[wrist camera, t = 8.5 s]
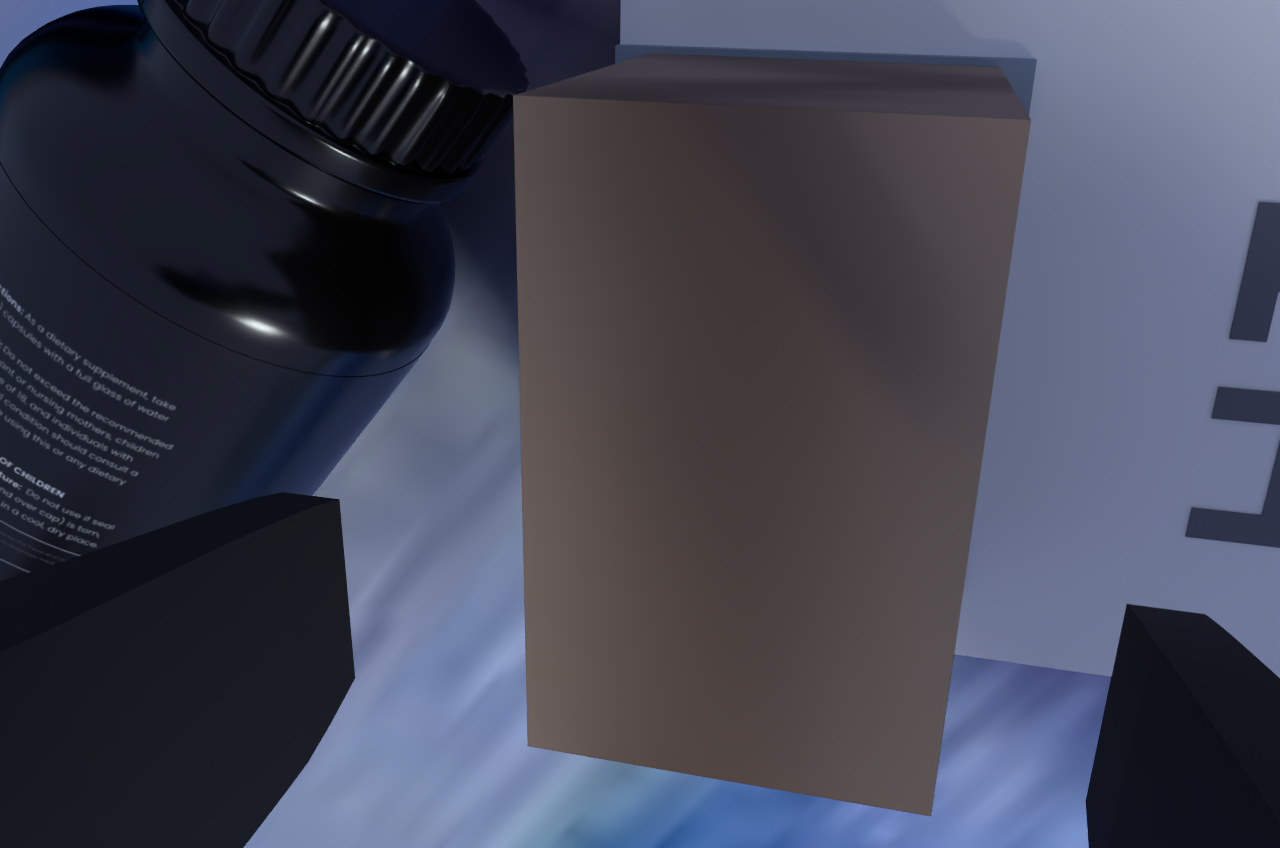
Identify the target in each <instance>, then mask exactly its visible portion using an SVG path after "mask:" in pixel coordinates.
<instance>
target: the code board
mask: <svg viewBox="0 0 1280 848" xmlns="http://www.w3.org/2000/svg"><path fill="white" fill-rule="evenodd" d="M620 44H633V45H661V46H690V47H719V48H747V49H776V50H804V51H833V52H861V53H890V54H918V55H947V56H975V57H1004V58H1032V59H1036V60H1037V63H1036V70H1035V77H1034V84H1033V91H1032V98H1031V105H1030V112H1029V117H1030V119H1031V124H1030V131H1029V138H1028V145H1027V152H1026V159H1025V166H1024V173H1023V180H1022V187H1021V194H1020V201H1019V208H1018V215H1017V222H1016V229H1015V236H1014V243H1013V250H1012V256H1011V263H1010V270H1009V277H1008V284H1007V291H1006V298H1005V305H1004V312H1003V319H1002V326H1001V333H1000V340H999V347H998V354H997V361H996V368H995V375H994V382H993V388H992V395H991V402H990V409H989V416H988V423H987V430H986V437H985V444H984V451H983V458H982V465H981V472H980V479H979V486H978V493H977V500H976V507H975V514H974V520H973V527H972V534H971V541H970V548H969V555H968V562H967V569H966V576H965V583H964V590H963V597H962V604H961V611H960V618H959V625H958V632H957V639H956V646H955V653H954V654H955V655H962V656H969V657H976V658H983V659H990V660H997V661H1003V662H1010V663H1017V664H1024V665H1031V666H1038V667H1045V668H1052V669H1059V670H1066V671H1073V672H1080V673H1087V674H1094V675H1101V676H1108V677H1112V672H1113V667H1114V662H1115V658H1116V653H1117V648H1118V643H1119V638H1120V633H1121V629H1122V624H1123V619H1124V614H1125V609H1126V605H1127V604H1132V605H1140V606H1147V607H1155V608H1163V609H1170V610H1178V611H1185V612H1193V613H1200V614H1206V615H1207V616H1209V617H1210V618H1211V619H1212V620H1214V621H1215V622H1216V623H1218V624H1219V625H1220V626H1221V627H1223V628H1224V629H1225V630H1226V631H1227V632H1229V633H1230V634H1231V635H1232V636H1233V637H1234V638H1235V639H1237V640H1238V641H1239V642H1240V643H1241V644H1242V645H1243V646H1245V647H1246V648H1247V649H1248V650H1249V651H1250V652H1251V653H1252V654H1254V655H1255V656H1256V657H1257V658H1258V659H1259V660H1260V661H1261V662H1262V663H1264V664H1265V665H1266V666H1267V667H1268V668H1269V669H1270V670H1271V671H1272V672H1274V673H1275V674H1276V675H1277V676H1278V677H1279V678H1280V0H621V18H620Z"/></svg>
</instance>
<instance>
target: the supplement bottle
mask: <svg viewBox="0 0 1280 848" xmlns="http://www.w3.org/2000/svg"><path fill="white" fill-rule="evenodd" d="M137 1H138V4H139V5H112V6H100V7H94V8H89V9H85V10H80V11H76V12H73V13H70V14H68V15H65V16H63V17H60V18H58V19H56V20H53V21H51V22H49V23H47V24H45V25H44V26H42V27H41V28H39V29H37V30H36V31H34V32H33V33H32V34H30V35H29V36H27V37H26V38H24V39H23V40H22V41H21V42H20V43H19V44H18V45H17V46H16V47H15V48H14V49H13V50H12V51H11V52H10V54H9V55H8V56H7V58H6V60H5V61H4V63H3V65H2V66H1V68H0V581H3V580H6V579H9V578H13V577H16V576H19V575H22V574H25V573H28V572H31V571H35V570H38V569H41V568H44V567H47V566H50V565H54V564H57V563H60V562H63V561H66V560H69V559H72V558H75V557H78V556H81V555H84V554H87V553H90V552H93V551H96V550H99V549H102V548H104V547H107V546H110V545H113V544H116V543H119V542H122V541H125V540H128V539H130V538H133V537H136V536H139V535H142V534H145V533H148V532H151V531H153V530H156V529H159V528H162V527H165V526H168V525H171V524H174V523H177V522H180V521H183V520H185V519H188V518H191V517H194V516H197V515H200V514H203V513H206V512H209V511H213V510H216V509H219V508H222V507H225V506H228V505H232V504H235V503H239V502H242V501H246V500H249V499H253V498H257V497H261V496H266V495H271V494H276V493H281V492H286V493H294V494H302V495H309V496H313V495H314V493H315V492H316V491H317V489H318V488H319V487H320V486H321V484H322V483H323V482H324V480H325V479H326V478H327V477H328V475H329V474H330V473H331V471H332V470H333V469H334V468H335V466H336V465H337V464H338V462H339V461H340V460H341V458H342V457H343V456H344V455H345V453H346V452H347V451H348V449H349V448H350V447H351V446H352V444H353V443H354V442H355V440H356V439H357V438H358V437H359V435H360V434H361V433H362V431H363V430H364V429H365V428H366V426H367V425H368V424H369V422H370V421H371V420H372V419H373V417H374V416H375V415H376V413H377V412H378V411H379V409H380V408H381V407H382V406H383V404H384V403H385V402H386V400H387V399H388V398H389V397H390V395H391V394H392V393H393V391H394V390H395V389H396V388H397V386H398V385H399V384H400V382H401V381H402V380H403V378H404V377H405V376H406V375H407V373H408V372H409V371H410V369H411V368H412V367H413V366H414V364H415V363H416V362H417V360H418V359H419V358H420V356H421V355H422V354H423V352H424V351H425V350H426V348H427V347H428V345H429V344H430V342H431V341H432V339H433V338H434V337H435V335H436V334H437V332H438V331H439V329H440V328H441V326H442V325H443V322H444V320H445V318H446V316H447V313H448V311H449V308H450V304H451V299H452V295H453V290H454V281H455V255H454V247H453V241H452V237H451V233H450V229H449V226H448V223H447V220H446V217H445V215H444V212H443V210H442V207H441V205H440V203H444V202H448V201H451V200H453V199H455V198H456V197H458V196H459V195H460V194H461V193H462V192H463V191H464V189H465V188H466V187H467V185H468V184H469V182H470V181H471V180H472V178H473V177H474V176H475V174H476V173H477V171H478V170H479V168H480V166H481V163H482V157H483V155H484V154H485V153H486V152H487V150H488V149H489V148H490V146H491V145H492V143H493V142H494V141H495V139H496V138H497V137H498V135H499V134H500V133H501V131H502V130H503V128H504V127H505V126H506V124H507V123H508V122H509V120H510V119H511V117H512V116H513V115H514V112H513V95H516V94H519V93H523V92H526V89H527V87H528V85H529V82H528V79H527V77H526V75H525V74H526V71H527V70H526V68H525V66H524V65H523V63H522V62H521V60H520V54H519V53H518V52H517V50H516V49H515V48H514V47H513V45H512V44H511V42H510V40H509V38H508V36H507V35H506V34H505V33H504V32H503V31H502V30H501V29H500V28H499V27H498V26H497V24H496V23H495V21H494V20H493V18H492V17H491V16H490V15H489V14H488V13H487V12H486V11H485V10H484V9H483V8H482V7H481V6H480V5H479V4H478V3H477V2H476V0H137Z"/></svg>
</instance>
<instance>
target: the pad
mask: <svg viewBox="0 0 1280 848" xmlns="http://www.w3.org/2000/svg"><path fill="white" fill-rule="evenodd" d="M649 53H651V54H677V55H703V56H730V57H756V58H782V59H808V60H834V61H860V62H886V63H912V64H939V65H965V66H991V67H1000V68H1001V69H1002V71H1003V73H1004V74H1005V76H1006V78H1007V80H1008V81H1009V83H1010V85H1011V86H1012V88H1013V90H1014V92H1015V93H1016V95H1017V97H1018V98H1019V100H1020V102H1021V104H1022V105H1023V107H1024V109H1025V110H1026V112H1027V114H1028V116H1029V112H1030V105H1031V98H1032V91H1033V84H1034V77H1035V70H1036V63H1037V60H1036V59H1032V58H1004V57H975V56H947V55H918V54H890V53H861V52H833V51H804V50H776V49H747V48H719V47H690V46H661V45H633V44H618V45H615V64H617V63H620V62H623V61H627V60H630V59H633V58H636V57H639V56H643V55H646V54H649Z"/></svg>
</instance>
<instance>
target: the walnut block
mask: <svg viewBox="0 0 1280 848" xmlns="http://www.w3.org/2000/svg"><path fill="white" fill-rule="evenodd" d="M513 112H514V157H515V201H516V246H517V290H518V335H519V379H520V424H521V468H522V513H523V557H524V602H525V646H526V691H527V735H528V746H530V747H536V748H542V749H547V750H553V751H559V752H565V753H570V754H576V755H582V756H588V757H593V758H599V759H605V760H611V761H616V762H622V763H628V764H633V765H639V766H645V767H651V768H656V769H662V770H668V771H674V772H679V773H685V774H691V775H697V776H702V777H708V778H714V779H719V780H725V781H731V782H737V783H742V784H748V785H754V786H760V787H765V788H771V789H777V790H783V791H788V792H794V793H800V794H805V795H811V796H817V797H823V798H828V799H834V800H840V801H846V802H851V803H857V804H863V805H869V806H874V807H880V808H886V809H892V810H897V811H903V812H909V813H914V814H920V815H926V816H931V812H932V805H933V798H934V791H935V785H936V778H937V771H938V764H939V757H940V750H941V743H942V736H943V729H944V722H945V715H946V708H947V701H948V694H949V687H950V680H951V673H952V666H953V659H954V653H955V646H956V639H957V632H958V625H959V618H960V611H961V604H962V597H963V590H964V583H965V576H966V569H967V562H968V555H969V548H970V541H971V534H972V527H973V520H974V514H975V507H976V500H977V493H978V486H979V479H980V472H981V465H982V458H983V451H984V444H985V437H986V430H987V423H988V416H989V409H990V402H991V395H992V388H993V382H994V375H995V368H996V361H997V354H998V347H999V340H1000V333H1001V326H1002V319H1003V312H1004V305H1005V298H1006V291H1007V284H1008V277H1009V270H1010V263H1011V256H1012V250H1013V243H1014V236H1015V229H1016V222H1017V215H1018V208H1019V201H1020V194H1021V187H1022V180H1023V173H1024V166H1025V159H1026V152H1027V145H1028V138H1029V131H1030V124H1031V119H1030V117H1029V116H1028V114H1027V112H1026V110H1025V109H1024V107H1023V105H1022V104H1021V102H1020V100H1019V98H1018V97H1017V95H1016V93H1015V92H1014V90H1013V88H1012V86H1011V85H1010V83H1009V81H1008V80H1007V78H1006V76H1005V74H1004V73H1003V71H1002V69H1001V68H1000V67H991V66H965V65H939V64H912V63H886V62H860V61H834V60H808V59H782V58H756V57H730V56H703V55H677V54H651V53H649V54H646V55H643V56H639V57H636V58H633V59H630V60H627V61H623V62H620V63H617V64H614V65H610V66H607V67H604V68H601V69H597V70H594V71H591V72H588V73H584V74H581V75H578V76H575V77H571V78H568V79H565V80H562V81H558V82H555V83H552V84H549V85H545V86H542V87H539V88H536V89H532V90H529V91H526V92H523V93H519V94H516V95H513Z"/></svg>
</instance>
